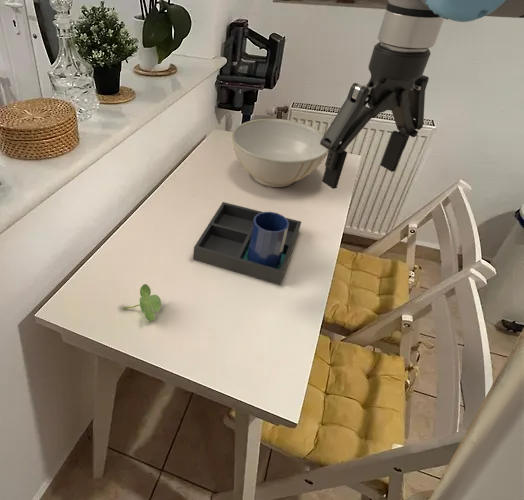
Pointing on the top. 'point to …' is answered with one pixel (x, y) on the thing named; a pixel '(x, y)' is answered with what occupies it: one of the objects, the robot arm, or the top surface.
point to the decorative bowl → (278, 150)
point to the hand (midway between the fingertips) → (359, 176)
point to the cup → (267, 239)
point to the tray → (240, 243)
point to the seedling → (148, 303)
